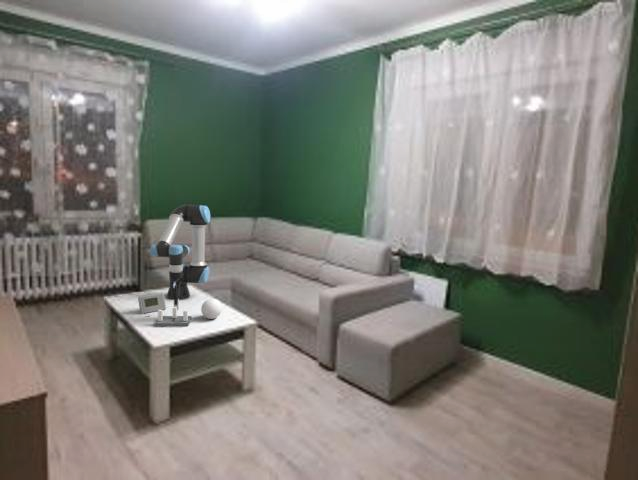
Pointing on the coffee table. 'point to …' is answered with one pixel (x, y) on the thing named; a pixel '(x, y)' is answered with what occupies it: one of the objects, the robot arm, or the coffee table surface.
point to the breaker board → (172, 322)
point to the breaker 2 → (185, 315)
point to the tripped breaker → (174, 312)
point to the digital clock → (151, 303)
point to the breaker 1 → (160, 315)
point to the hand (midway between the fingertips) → (176, 309)
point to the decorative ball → (211, 308)
